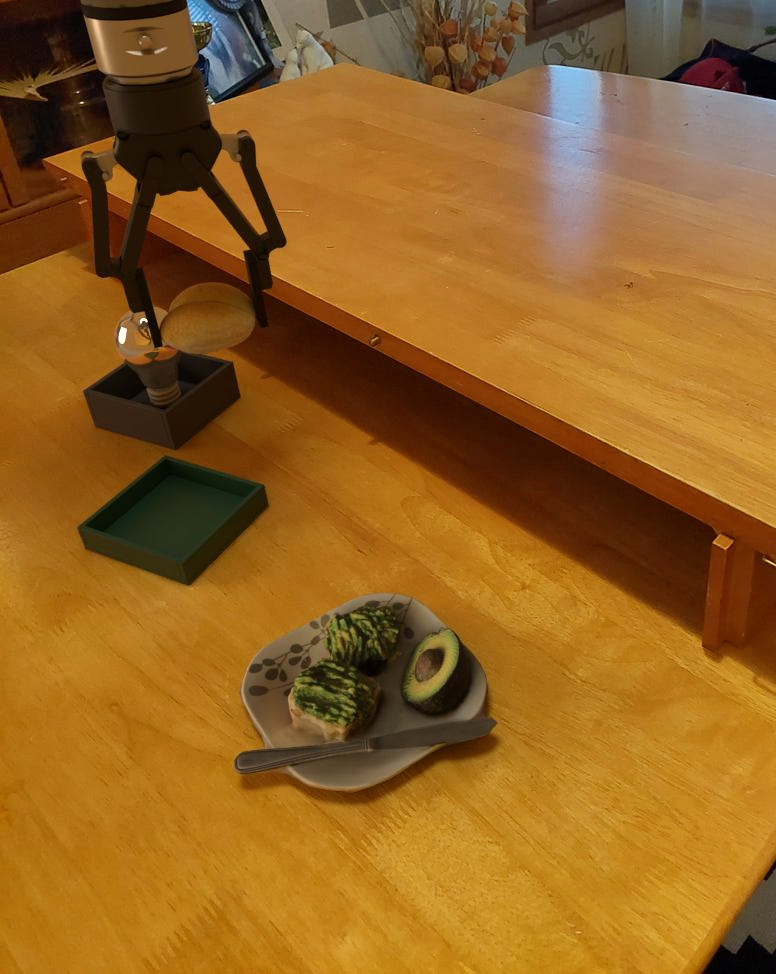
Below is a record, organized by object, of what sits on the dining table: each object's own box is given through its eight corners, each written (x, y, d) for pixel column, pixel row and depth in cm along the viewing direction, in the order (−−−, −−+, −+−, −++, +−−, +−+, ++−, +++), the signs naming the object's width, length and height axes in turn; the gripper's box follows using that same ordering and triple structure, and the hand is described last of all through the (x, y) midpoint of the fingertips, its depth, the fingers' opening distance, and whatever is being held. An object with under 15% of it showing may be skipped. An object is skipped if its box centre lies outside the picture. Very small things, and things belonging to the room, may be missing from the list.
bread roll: (154, 359, 82) (142, 318, 80) (181, 310, 89) (171, 272, 87) (246, 358, 82) (238, 317, 79) (266, 309, 89) (259, 271, 86)
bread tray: (84, 548, 85) (76, 527, 83) (171, 475, 93) (165, 454, 92) (188, 585, 81) (181, 563, 79) (269, 505, 89) (264, 484, 88)
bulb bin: (94, 426, 101) (82, 390, 98) (163, 376, 109) (153, 342, 106) (175, 450, 97) (165, 413, 94) (241, 396, 105) (233, 361, 102)
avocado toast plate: (289, 871, 60) (278, 831, 57) (187, 693, 71) (173, 653, 68) (528, 725, 68) (528, 684, 65) (401, 587, 80) (397, 548, 77)
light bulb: (196, 384, 106) (172, 288, 98) (203, 416, 101) (178, 317, 93) (133, 397, 104) (103, 300, 97) (137, 430, 99) (106, 330, 91)
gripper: (-1, 101, 66) (89, 374, 80) (298, 66, 71) (334, 326, 85) (2, 75, 71) (86, 334, 85) (280, 44, 77) (316, 292, 91)
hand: (210, 330), depth 85 cm, fingers closed on bread roll, 9 cm apart
